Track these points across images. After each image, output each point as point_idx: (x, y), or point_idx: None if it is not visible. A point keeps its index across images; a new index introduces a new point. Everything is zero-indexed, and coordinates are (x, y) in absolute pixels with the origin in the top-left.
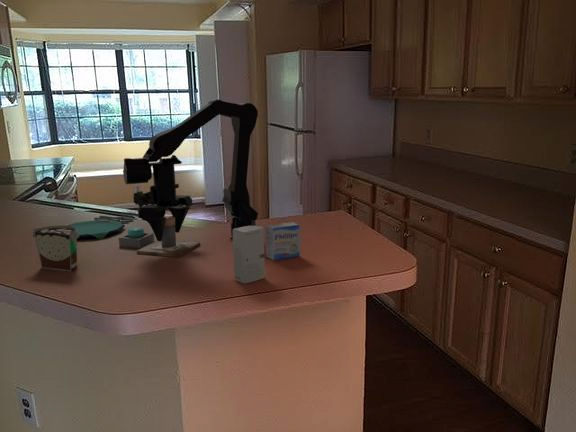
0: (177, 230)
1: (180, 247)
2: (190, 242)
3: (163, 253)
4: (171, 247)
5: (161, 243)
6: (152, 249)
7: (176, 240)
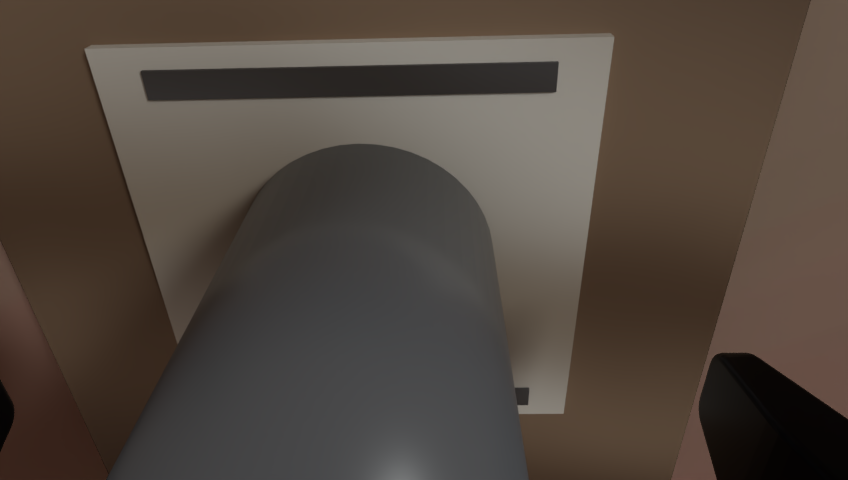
0: (717, 437)
1: None
2: (640, 418)
3: (53, 342)
4: None
5: (265, 197)
6: (73, 94)
7: (747, 187)
